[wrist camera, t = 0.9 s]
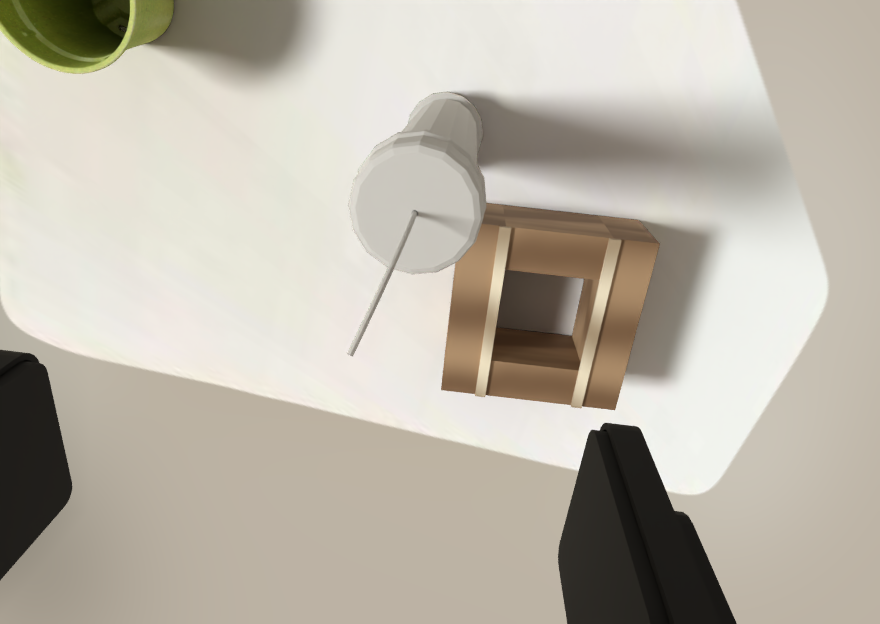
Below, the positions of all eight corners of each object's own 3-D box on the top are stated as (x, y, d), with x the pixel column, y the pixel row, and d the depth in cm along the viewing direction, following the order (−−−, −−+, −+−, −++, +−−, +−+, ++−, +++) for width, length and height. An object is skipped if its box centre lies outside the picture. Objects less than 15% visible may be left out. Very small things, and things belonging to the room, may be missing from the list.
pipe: (496, 111, 44) (526, 227, 16) (457, 186, 46) (426, 393, 19) (430, 75, 43) (346, 133, 16) (393, 153, 45) (267, 319, 18)
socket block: (462, 200, 46) (460, 222, 41) (638, 220, 46) (661, 245, 41) (445, 353, 52) (440, 392, 47) (600, 371, 52) (615, 412, 46)
